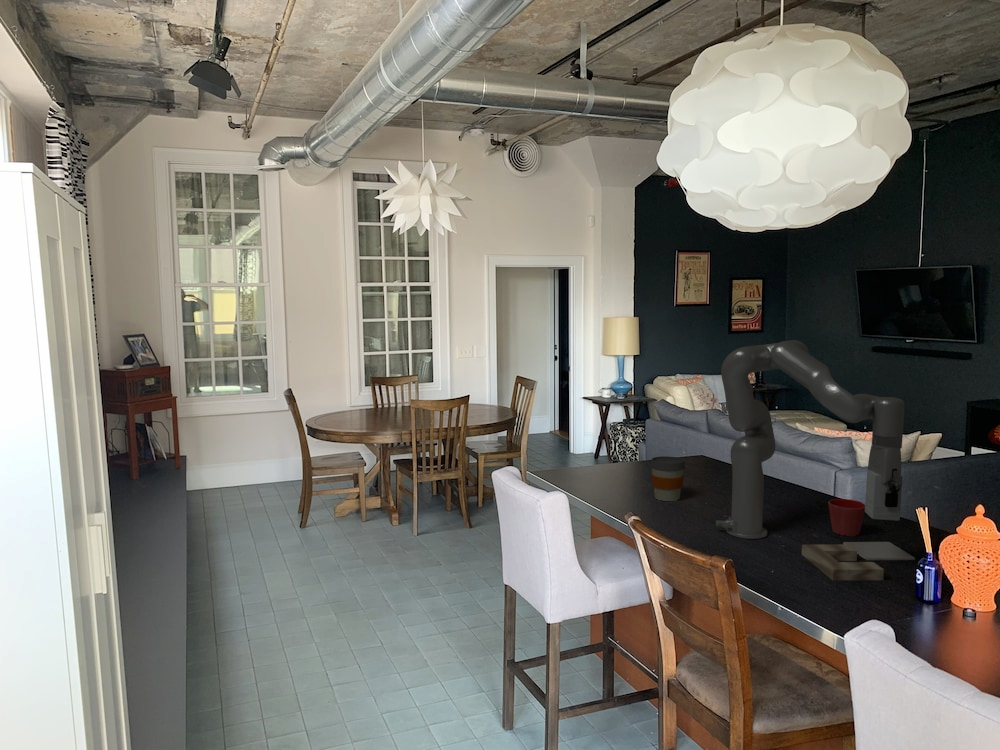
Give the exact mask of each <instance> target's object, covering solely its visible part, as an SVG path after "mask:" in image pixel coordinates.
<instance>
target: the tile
mask: <svg viewBox="0 0 1000 750" xmlns="http://www.w3.org/2000/svg"><path fill="white" fill-rule="evenodd" d="M842 544H848V545H850V546H851V547H852V548H854V549H855V550H857V555H858V554H859V555H858V556H860V557H861V558H863V560H865V559H866V560H865V561H915V560H916V557H915V556H913V555H911V554H910V553H908V552H906V551H904V550H903V549H901V548H900V547H898V546H897V545H894V544H893V543H891V542H890V541H843V543H842Z"/></svg>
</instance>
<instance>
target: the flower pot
mask: <svg viewBox="0 0 1000 750" xmlns="http://www.w3.org/2000/svg"><path fill="white" fill-rule="evenodd" d="M827 503H828V511H829V517H830V523H831V529H832V532H833V533H834V532H835V533H834V534H836V533H837V535H839V534H840V535H839V536H845V535H846V536H845V537H856V535H857V536H859V535H860V533H861V530H862V529H861V528H862V524H863V522H864V515H865V513H866V512H865V503H864V502H862V501H859V500H854V499H848V498H835V499H830V500H828V502H827Z"/></svg>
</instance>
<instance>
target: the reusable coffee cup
mask: <svg viewBox="0 0 1000 750" xmlns="http://www.w3.org/2000/svg"><path fill="white" fill-rule="evenodd" d="M650 460H651V461H650V468H651V483H652V484H651V485H652V487H653V491H654V492H653V493H654V499H655V498H656V499H658V500H663V501H676V500H678V499H679V500H680V497H681V492H682V490H681V489H682V488H683V487H684V486H683V484H684V479H685V478H684V477H685V474H684V472H685V469H686V465H685V459H684V458H681V457H677V456H676V457H675V456H666V455H665V456H663V455H662V456H656V457H652V458H651V459H650ZM656 499H655V500H656ZM658 500H657V501H658ZM676 502H677V501H676Z"/></svg>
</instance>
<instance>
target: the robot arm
mask: <svg viewBox="0 0 1000 750" xmlns="http://www.w3.org/2000/svg"><path fill="white" fill-rule="evenodd" d="M774 370H775V371H776V370H781V371H782V372H783V373H785V374H786V375H787V376H789V377H790V378H792V379H793V380H795V381H796V382H797V383H799V384H800V385H801V386H802V387H805V388H806V389H807V390H808V391H809V392H810V393H811V395H812V396H813V397H814V398H815V399H816V400H817V402H818V403H819V404H820V405H822V406H823V407H824V408H825V409H826V410H828V411H830V412H831V413H832V414H833V415H835V416H836V417H838V418H839V419H841V420H842V421H845V422H846V423H850V424H857V423H860V422H862V421H863V422H864V421H868V420H872V433H871V435H872V436H871V447H870V448H869V449H870V450H869V454H868V455H869V456H868V461H867V463H868V464H867V470H870V471H872V472H875V473H876V474H879V475H881V481H880V482H881V483H882V484H885V483H886V489H887V493H886V494H885V506H886V507H897V504H898V494H899V490H900V488H901V485H902V486H903V479H902V480H901V476H902V452H901V451H902V450H901V449H903V437H904V436H903V435H904V423H905V422H904V421H905V419H904V418H905V401H904V400H903V399H901V398H899V397H892V396H877V395H872V394H868V393H857V394H852V393H851V392H849V391H847V389H845V388H844V387H842V386H841V385H839V384H838V383H837V381H835V380H834V378H833V376H832V374H831V371H830V368H829V367H828V366H827V365H826V364H825V363H822V362H821V361H820V360H818V359H817V358H815V357H814V356H813V355H811V354H810V351H809V348H808V346H807V345H806V344H805V343H804V342H802V341H800V340H797V339H796V340H795V339H790V340H782V341H780V342H775V343H768V344H767V343H765V344H758V345H750V346H749V345H748V346H742V347H739V348H736V349H734V350H733V351H731V352H730V353H729V354H728V355H726V358H725V359H724V360H723V362H722V365H721V370H720V371H721V380H722V385H723V390H724V396H725V403H726V409H727V415H728V420H729V421H728V422H729V424H730V426H731V428H732V429H734V430H735V431H736V432H739V433H743V432H744V436H742V437H739V438H737V439H736V440H735V441H734V442H733V443H732V446H731V447H730V448H731V449H730V462H731V470H732V473H731V474H732V475H731V476H732V477H731V478H732V479H731V480H732V481H731V515H730V516H728V518H727V519H725V520H723V519H722V520H721V519H719V520H718V519H717V520H715V525H716V527H722V528H723V529H725V532H726V533H727V534H728V535H730V536H732V537H736V538H740V539H748V540H749V539H750V540H754V539H755V540H756V539H762V538H765V537H767V536H768V530H767V529H766V528H765V527H763V517H764V516H763V513H764V511H763V510H764V487H765V486H764V485H765V484H764V483H765V482H764V481H765V480H764V479H765V477H764V476H765V475H764V471H763V470H764V469H763V465H762V463H764V462H765V461H767V460H769V459H771V458H772V457H773V456H774V454H775V452H776V440H775V434H774V427H773V422H772V418H771V413H770V410H769V408H768V407H767V405H766V404H765V403H764V401H761V400H759V399H755V398H754V391H753V386H752V384H751V382H750V379H749V375H750V374H754V373H755V374H756V373H759V372H765V371H774ZM891 476H892V477H893V479H894V481H895V482H889V480H890V478H891ZM893 484H895V485H893ZM890 485H893V486H892V487H891V488H890Z"/></svg>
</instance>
